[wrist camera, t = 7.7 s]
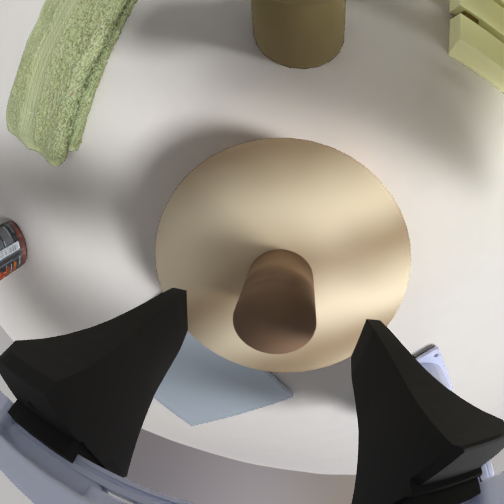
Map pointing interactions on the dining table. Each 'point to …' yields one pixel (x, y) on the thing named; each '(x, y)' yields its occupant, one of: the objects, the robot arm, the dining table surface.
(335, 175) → the birch lid
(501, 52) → the slatted curved stool
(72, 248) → the dining table surface
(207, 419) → the slate mat
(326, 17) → the cork
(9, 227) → the supplement bottle
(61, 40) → the washcloth
